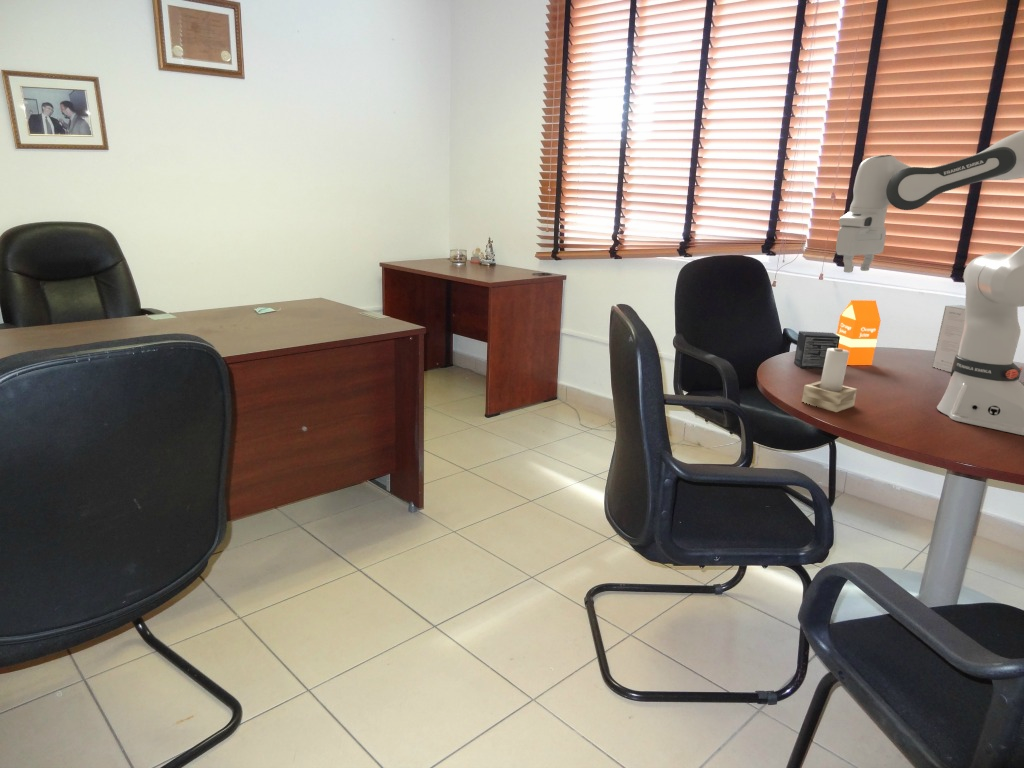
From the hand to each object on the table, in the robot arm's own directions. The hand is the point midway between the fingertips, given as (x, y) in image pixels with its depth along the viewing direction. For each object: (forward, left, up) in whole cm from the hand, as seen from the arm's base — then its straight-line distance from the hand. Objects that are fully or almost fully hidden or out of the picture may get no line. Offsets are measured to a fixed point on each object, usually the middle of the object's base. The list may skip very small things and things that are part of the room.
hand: (856, 271), depth 180 cm
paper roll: (-10, +24, -29) cm, 39 cm away
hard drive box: (-17, -45, -31) cm, 57 cm away
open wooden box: (-10, +24, -31) cm, 41 cm away
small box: (+12, -10, -31) cm, 35 cm away
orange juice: (+8, -26, -31) cm, 42 cm away
